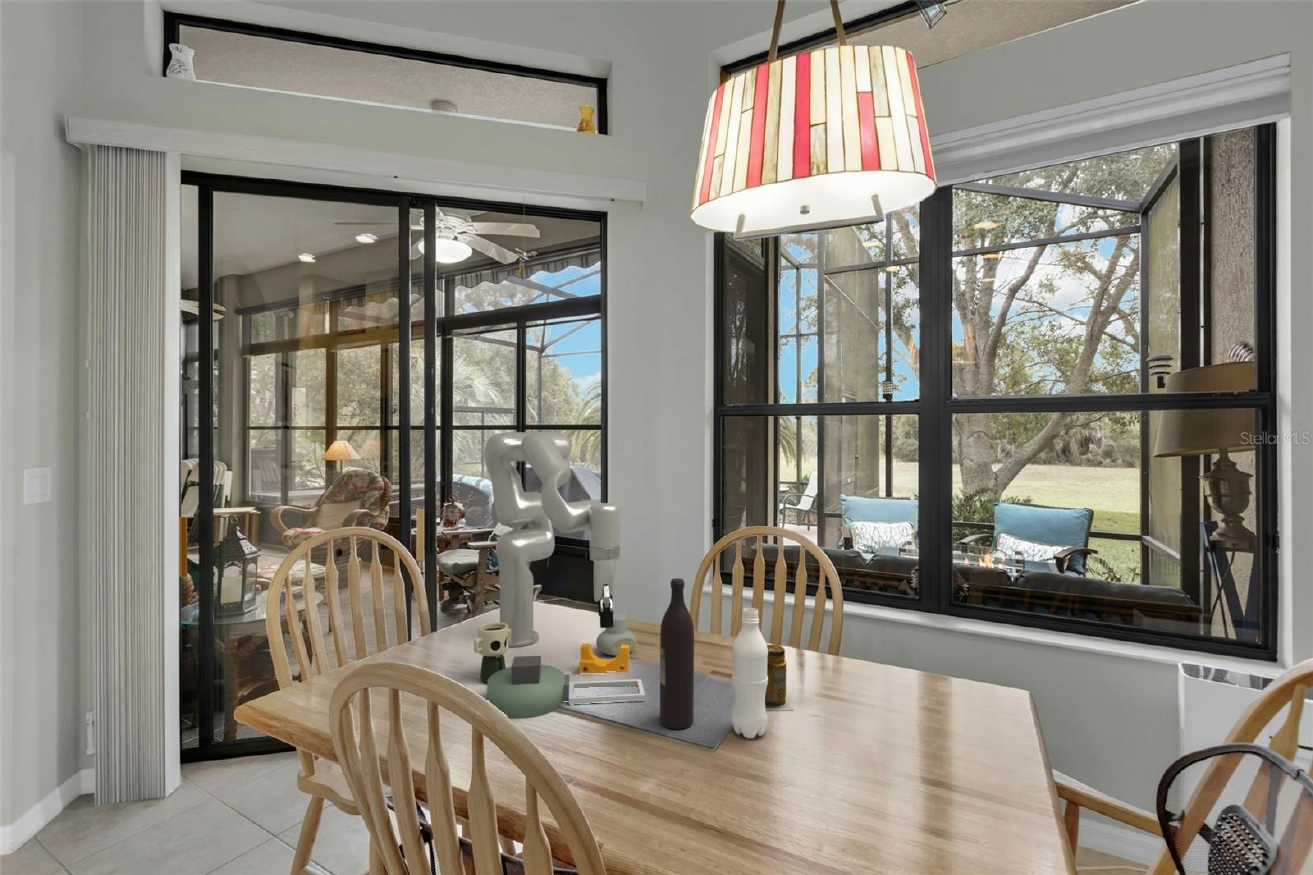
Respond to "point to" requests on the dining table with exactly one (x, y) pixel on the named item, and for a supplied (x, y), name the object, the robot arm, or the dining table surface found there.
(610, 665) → the pipe clamp
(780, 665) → the condiment
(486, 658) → the character mug
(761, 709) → the water bottle
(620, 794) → the dining table surface
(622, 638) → the air freshener
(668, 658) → the wine bottle
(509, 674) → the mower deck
